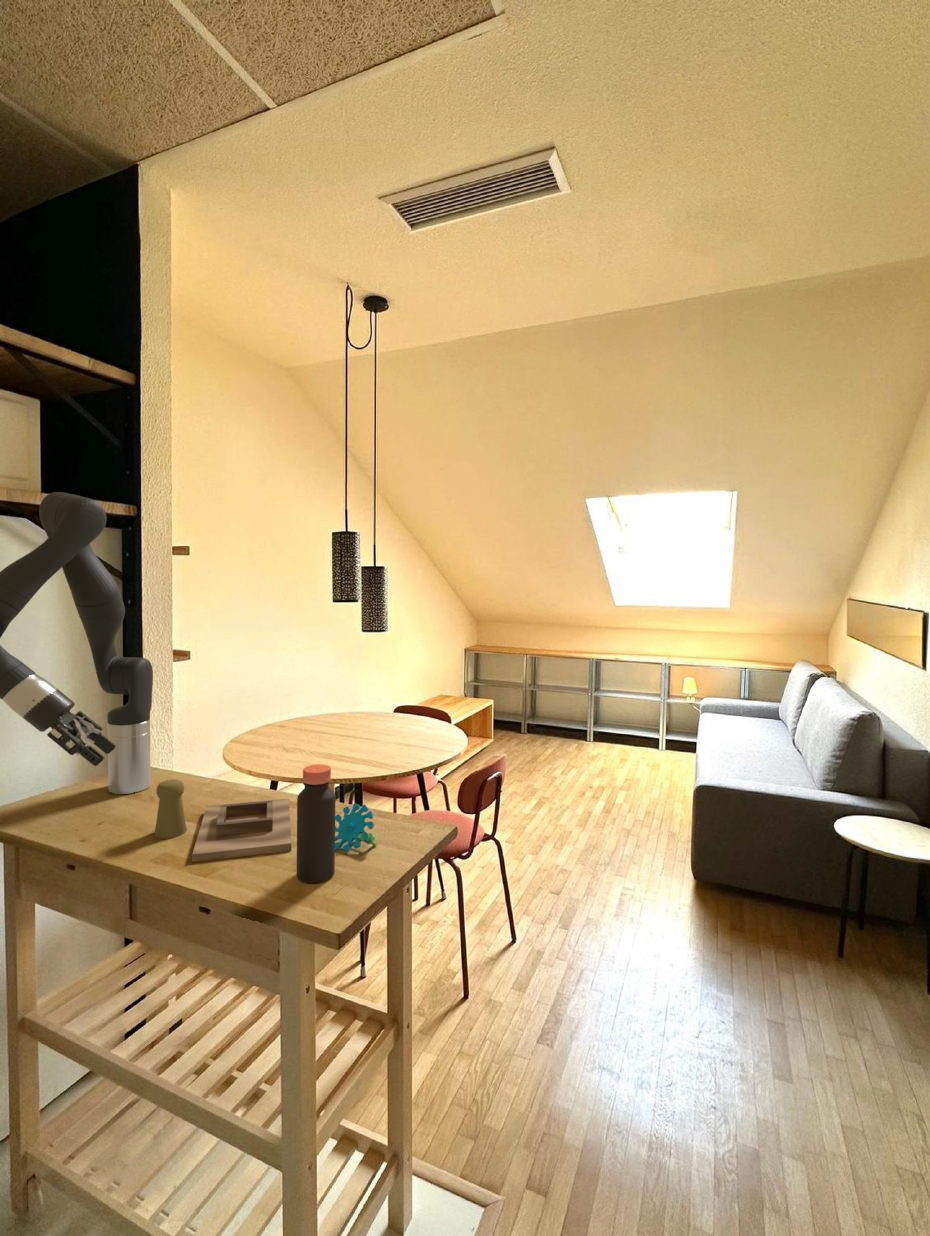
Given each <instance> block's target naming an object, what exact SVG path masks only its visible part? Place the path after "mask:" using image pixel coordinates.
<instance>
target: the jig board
mask: <svg viewBox="0 0 930 1236" xmlns="http://www.w3.org/2000/svg"><path fill="white" fill-rule="evenodd" d="M290 812H291V811H290V799H289V798H282V799H281V798H280V799H271V800H260V801H248V802H238V803H225V804H217V805H207V806H206V808H205V810H204V813H203V817H202V820H201V824H200V827H199V829H198V830H199V831H198V834H197V837H196V840H195V844H194V848H193V851H192V855H191V857H192V858H191V862H192V863H196V862H197V863H198V862H206V861H215V860H221V859H230V858H238V857H248V856H256V855H264V854H265V855H267V854H271V853H273V854H274V853H282V852H290V851H292V832H291V817H290V814H291V813H290Z"/></svg>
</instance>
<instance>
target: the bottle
mask: <svg viewBox="0 0 930 1236" xmlns="http://www.w3.org/2000/svg"><path fill="white" fill-rule="evenodd" d="M331 772H332V769H331V766H330V765H327V764H322V763H319V764H318V763H316V764H310V765H307V766H305V767H304V768H303V769H302V784H303V786H304V788H303V789H302V790H301V791H300V792H299V794H298V795H297V798H296V799H297V800H296V801H297V802H296V877H297V879H298V880H299V881H300V882H301V883H304V884H311V885H314V884H320V883H324V882H327V881H329V880H330V879H331V878H332V877H334V874H335V868H336V867H335V866H336V865H335V864H336V861H335V860H336V859H335V858H336V850H335V849H336V848H335V843H336V841H335V836H336V832H335V826H336V820H335V816H336V800H337V799H336V795H337V794H336V793H335V790H333V789H332V788H331V787H330V785H329V784H330V783H331V778H332V777H331V774H332V773H331Z"/></svg>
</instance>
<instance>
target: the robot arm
mask: <svg viewBox="0 0 930 1236" xmlns="http://www.w3.org/2000/svg"><path fill="white" fill-rule="evenodd" d="M38 507H39V508H38V515H39V521H40V523H41V526H42V528H43V530H44V532H45V534H46V535H47V539H45V541H43V542H42V543H41V544H40V545H39V546H37V547H36V548H35V549H33V550H32V551H30V552H28V553H26V554H25V555H24V556H22V557H20V558H18V559H16V560H14V561H13V562H11V563H10V564H8V565H7V566H6V567H4V568H3V569H1V571H0V639H1V638H2V636H3V635H4V633H5V632H6V630H7V628H8V627H9V626H10V624H11V623H12V621H13V620H14V619H15V618H16V617H17V616H18V615H19V614H20V613H21V611H22V610H23V609H24V608H25V607H26V605H27V604H28V603H30V601H31V599H33V598H34V596H35V595H36V594H37V593H38V592H39V590H40V589H42V587H43V586H44V585H45V584H46V583H47V582H48V581H49V580H50V579H51V578H52V577H53V576H54V575H55V574H56V573H58V571H60V570H61V569H62V571H63V574H64V576H65V579H66V583H67V585H68V588H69V591H70V593H71V596H72V599H73V600H72V601H73V603H74V605H75V609H76V611H77V613H78V616H79V618H80V621H81V623H82V626H83V629H84V631H85V635H86V638H87V640H88V643H89V647H90V651H91V656H92V659H93V664H94V668H95V669H94V670H95V673H96V676H97V681H98V683H99V686H100V688H101V690H102V691H103V692H105V693H107V694H110V695H128V702H127V703H126V704H124V705H121V706H118V707H115V708H112V709H110V710H109V711H108V712H107V716H106V717H107V719H106V720H107V737H106V735H104V733H103V730H104V729H103V728H102V726H101V725H99V723H96V722H95V721H94V720H92V718H90V717H89V716H88V715H86V714H85V713H84V712H82V711H80V710H78V711H77V712H76V713H73V712H71V710H72V709H73V707H75V702H74V701H73V700H72V699H70V698H69V696H67V695H66V694H65V693H64V692H62V691H61V690H60V689H58V688H57V687H56V686H55V685H54V684H52V683H51V682H50V681H48V680H47V679H46V678H44V677H43V676H40V675H39V674H37V673H36V672H35V671H34V670H32V668H30V667H29V666H27V665H26V664H25V663H24V662H22V661H21V660H20V659H19V658H16V657H15V656H14V655H12V654H11V653H9V652H8V651H7V650H6V649H5V648H4V647H3V646H2V645H1V644H0V700H2V701H3V702H4V703H5V704H6V705H7V706H8V707H9V708H10V710H12V711H13V712H14V713H16V714H17V715H18V716H20V718H22V719H23V720H25V721H26V723H28V724H30V725H31V726H33V727H34V728H35V729H36V730H37V731H39V732H41V733H43V732H46V731H47V730H49V729H50V728H51V730H50V731H49V732H48V733H47V734H46V736H47V737H48V738H49V739H51V740H52V741H53V742H54V743H55V744H57V745H58V747H60V748H62V750H64V751H65V752H66V753H68V754H69V755H70V756H74V755H77V756H81V757H82V758H84V759H85V760H86V761H87V762H88V763H90V764H91V765H92V766H94V767H96V766H99V764H101V763H102V762H103V761H104V760H105V755H103V754H102V753H101V752H103V753H105V754H106V755H107V775H108V776H107V779H108V780H107V782H108V783H107V788H108V790H109V791H108V792H109V793H110V792H112V793H111V794H113V793H114V794H115V795H127V794H134V792H135V793H138V792H142V791H144V790H147V789H149V788H150V787H151V710H152V706H153V705H152V704H153V684H154V683H153V682H154V671H153V666H152V663H151V662H150V660H149V659H148V658H146V657H129V656H128V657H126V656H125V657H123V656H119V654H118V652H117V649H116V644H115V639H116V637H117V634H118V633H119V631H120V628H121V625H122V623H123V621H124V619H125V615H126V607H125V604H124V601H123V597H122V594H121V590H120V588H119V585H118V584H117V582H116V580H115V579H114V578H113V576H112V575H111V572H109V570H108V569H107V568H106V567H105V566H104V564H103V563H102V561H101V560H100V559H99V557H98V556H97V555H96V554H95V552H94V550H93V548H92V546H91V543H92V542H93V541H94V540H96V539H97V538H98V537H99V535H101V533H102V532H103V530H104V529H105V527H106V524H107V513H106V510H105V509H104V506H102V504H101V503H99V502H98V501H97V500H94V499H92V498H89V497H84V496H81V495H78V494H73V493H68V492H61V491H58V492H57V491H56V492H55V491H54V492H51V493H48V494H46V495H45V496H44V498H43V499H41V502H40V504H39V506H38ZM88 741H89V742H91V743H93V745H95V746H96V747H97V748H98V749H99V750H101V752H99V751H98V750H97V749H96V748H95V747H93V746H92V745H90V744H89V742H88ZM114 794H113V795H114Z"/></svg>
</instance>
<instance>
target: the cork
mask: <svg viewBox="0 0 930 1236" xmlns="http://www.w3.org/2000/svg"><path fill="white" fill-rule="evenodd" d="M184 792H185V785H184V782H183V781H181V780H179V779H167V780H164V781H161V782H160V783H159V784H158V785H157V787H156V795H157V798H158V800H159V801H158V807H157V814H156V820H155V821H156V822H155V829H154V837H156V838H157V839H163V840H165V839H166V840H167V839H174V838H176V837H180V836H182V835H184V834H186V832H187V824H186V817H185V811H184V805H183V799H182V798H183V797H182V796H183V794H184Z"/></svg>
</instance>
